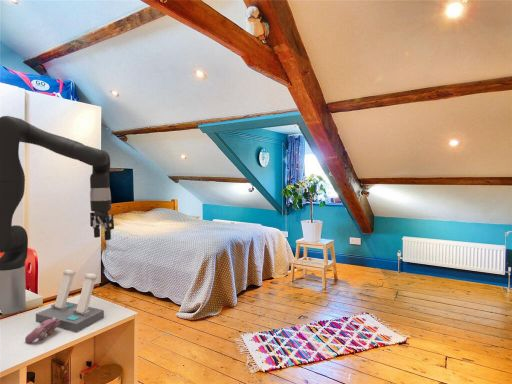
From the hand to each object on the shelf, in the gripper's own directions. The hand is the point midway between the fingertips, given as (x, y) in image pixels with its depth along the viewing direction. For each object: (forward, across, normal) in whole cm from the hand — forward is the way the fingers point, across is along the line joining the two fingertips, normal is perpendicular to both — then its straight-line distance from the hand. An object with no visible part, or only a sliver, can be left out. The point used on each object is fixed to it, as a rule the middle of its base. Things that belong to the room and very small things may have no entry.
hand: (102, 238), depth 130 cm
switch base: (+28, +2, -14) cm, 31 cm away
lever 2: (+24, +7, -13) cm, 28 cm away
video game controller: (+28, +8, -25) cm, 39 cm away
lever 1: (+24, -3, -16) cm, 29 cm away
